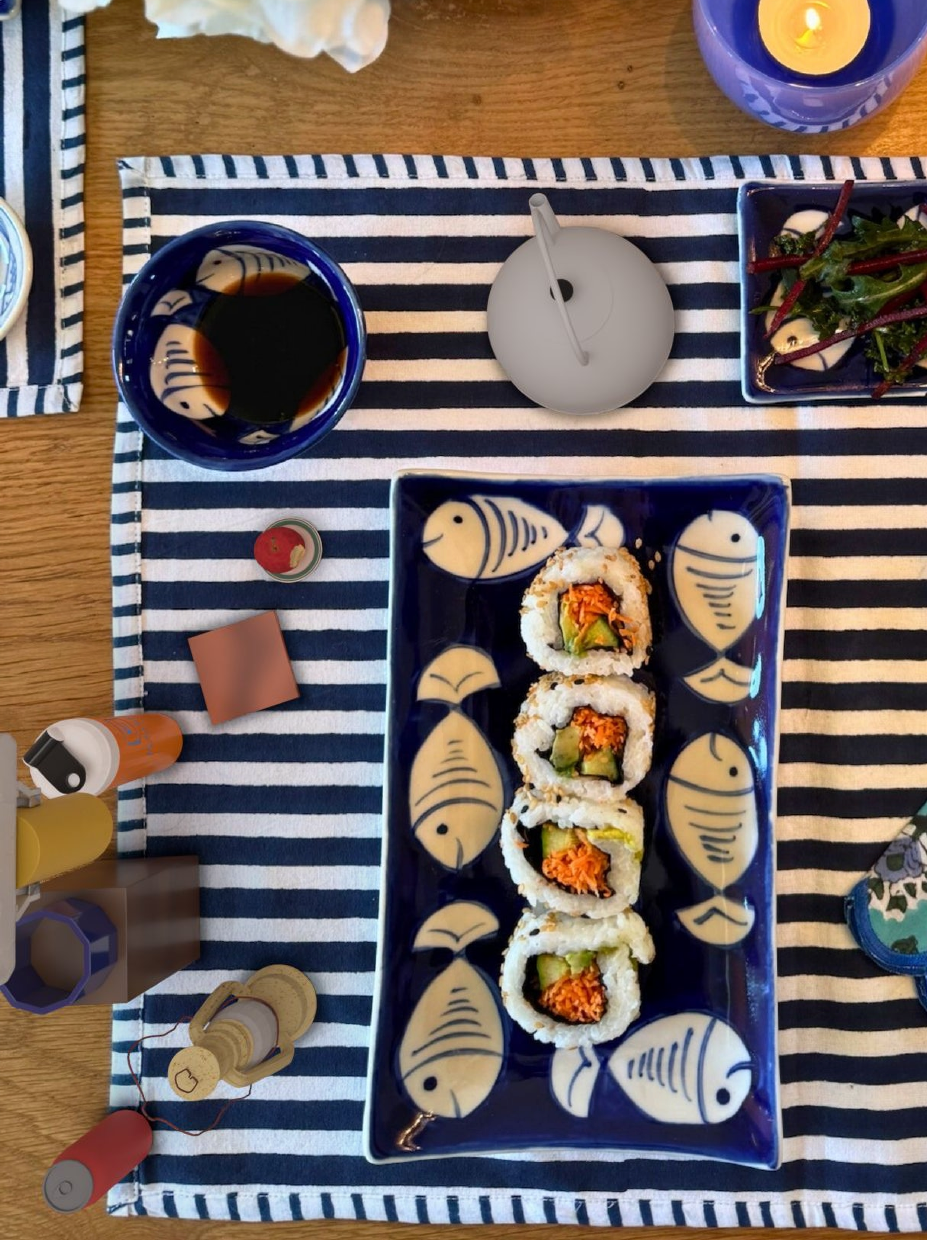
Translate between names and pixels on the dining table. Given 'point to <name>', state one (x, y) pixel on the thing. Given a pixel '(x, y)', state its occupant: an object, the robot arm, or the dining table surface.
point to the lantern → (241, 1034)
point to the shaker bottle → (102, 752)
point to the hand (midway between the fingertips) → (32, 843)
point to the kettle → (579, 317)
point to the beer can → (97, 1162)
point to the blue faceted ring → (98, 956)
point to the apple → (288, 549)
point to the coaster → (243, 667)
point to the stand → (123, 924)
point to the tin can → (60, 836)
